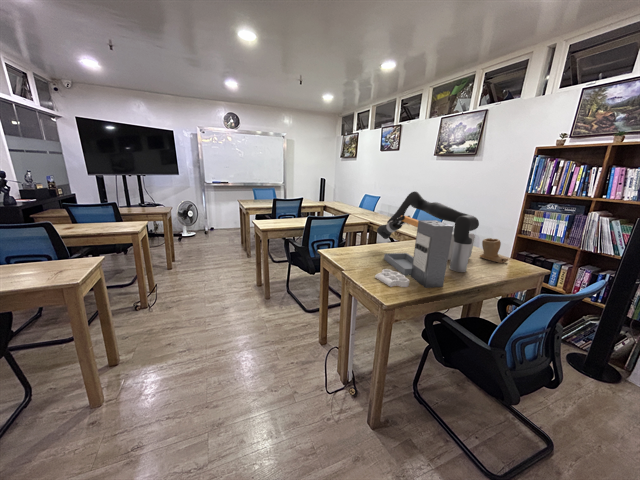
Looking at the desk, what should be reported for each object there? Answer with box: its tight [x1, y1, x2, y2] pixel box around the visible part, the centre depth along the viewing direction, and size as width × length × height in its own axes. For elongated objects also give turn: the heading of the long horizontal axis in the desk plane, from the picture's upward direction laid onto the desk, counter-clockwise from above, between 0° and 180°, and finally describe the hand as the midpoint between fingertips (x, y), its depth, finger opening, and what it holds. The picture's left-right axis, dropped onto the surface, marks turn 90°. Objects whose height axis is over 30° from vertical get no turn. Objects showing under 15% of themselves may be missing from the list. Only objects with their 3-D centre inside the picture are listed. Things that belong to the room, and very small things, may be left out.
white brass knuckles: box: [374, 268, 410, 288], centre depth 134 cm, size 3×18×15 cm
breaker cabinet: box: [410, 219, 455, 289], centre depth 130 cm, size 14×11×32 cm
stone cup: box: [479, 237, 509, 264], centre depth 170 cm, size 15×12×15 cm
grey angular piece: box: [448, 231, 476, 261], centre depth 172 cm, size 29×8×18 cm, turn 103°
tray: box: [383, 252, 414, 277], centre depth 155 cm, size 27×16×4 cm, turn 10°
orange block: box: [401, 215, 420, 228], centre depth 148 cm, size 20×3×3 cm, turn 10°
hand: (406, 217), depth 153 cm, fingers closed on orange block, 3 cm apart
